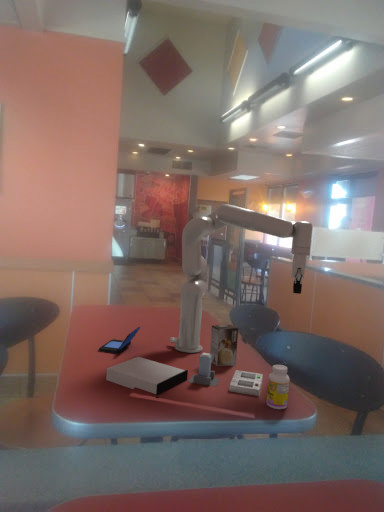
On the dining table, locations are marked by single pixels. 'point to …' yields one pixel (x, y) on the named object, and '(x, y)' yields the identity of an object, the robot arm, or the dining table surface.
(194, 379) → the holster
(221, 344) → the coffee box
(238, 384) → the port panel
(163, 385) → the disc drive
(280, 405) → the supplement bottle
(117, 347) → the handheld game console
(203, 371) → the plug
